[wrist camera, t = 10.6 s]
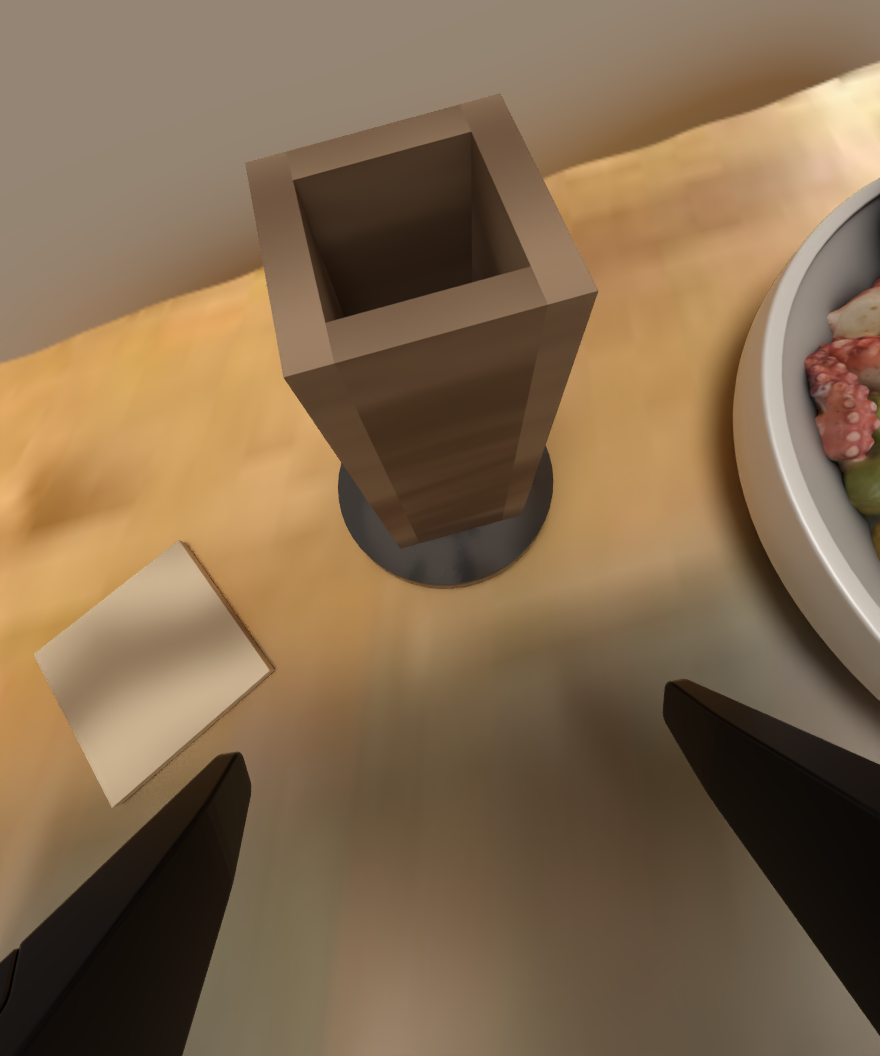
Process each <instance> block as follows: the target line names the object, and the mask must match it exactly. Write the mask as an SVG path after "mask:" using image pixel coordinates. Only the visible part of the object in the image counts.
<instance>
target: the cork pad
mask: <svg viewBox="0 0 880 1056" xmlns="http://www.w3.org/2000/svg"><path fill="white" fill-rule="evenodd" d="M33 655H34V657H35V659H36V661H37V662H38V664H39V666H40V668H41V670H42V672H43V674H44V676H45V678H46V680H47V682H48V684H49V686H50V688H51V690H52V692H53V694H54V696H55V698H56V699H57V701H58V703H59V705H60V707H61V709H62V711H63V713H64V715H65V717H66V719H67V721H68V723H69V725H70V727H71V729H72V731H73V733H74V735H75V736H76V738H77V740H78V742H79V744H80V746H81V748H82V750H83V752H84V754H85V756H86V758H87V760H88V762H89V764H90V766H91V768H92V770H93V771H94V773H95V775H96V777H97V779H98V781H99V783H100V785H101V787H102V789H103V791H104V793H105V795H106V797H107V799H108V801H109V803H110V805H111V807H112V808H113V807H115V806H118V805H120V804H122V803H123V802H125V801H126V800H127V799H128V798H129V797H130V796H131V795H133V794H134V793H135V792H136V791H137V790H138V789H139V788H141V787H142V786H143V785H144V784H145V783H146V782H147V781H149V780H150V779H151V778H152V777H153V776H154V775H155V774H157V773H158V772H159V771H160V770H161V769H162V768H164V767H165V766H166V765H167V764H168V763H169V762H170V761H172V760H173V759H174V758H175V757H176V756H177V755H178V754H180V753H181V752H182V751H183V750H184V749H185V748H186V747H188V746H189V745H190V744H191V743H192V742H193V741H194V740H196V739H197V738H198V737H199V736H200V735H201V734H203V733H204V732H205V731H206V730H207V729H208V728H209V727H211V726H212V725H213V724H214V723H215V722H216V721H217V720H219V719H220V718H221V717H222V716H223V715H224V714H225V713H227V712H228V711H229V710H230V709H231V708H232V707H234V706H235V705H236V704H237V703H238V702H239V701H240V700H242V699H243V698H244V697H245V696H246V695H247V694H248V693H250V692H251V691H252V690H253V689H254V688H255V687H256V686H258V685H259V684H260V683H261V682H262V681H263V680H264V679H266V678H267V677H268V676H269V675H270V674H271V673H273V672H274V671H275V670H274V668H273V667H272V665H271V664H270V662H269V661H268V660H267V658H266V657H265V655H264V654H263V652H262V651H261V650H260V648H259V647H258V645H257V644H256V642H255V641H254V640H253V638H252V637H251V635H250V634H249V633H248V631H247V630H246V628H245V627H244V625H243V624H242V623H241V621H240V620H239V618H238V617H237V615H236V614H235V613H234V611H233V610H232V608H231V607H230V605H229V604H228V603H227V601H226V600H225V598H224V597H223V595H222V594H221V593H220V591H219V590H218V588H217V587H216V586H215V584H214V583H213V581H212V580H211V578H210V577H209V576H208V574H207V573H206V571H205V570H204V568H203V567H202V566H201V564H200V563H199V561H198V560H197V558H196V557H195V556H194V554H193V553H192V551H191V550H190V549H189V547H188V546H187V544H186V543H185V542H182V541H180V540H178V541H177V542H176V543H175V544H173V545H172V546H171V547H169V548H168V549H167V550H166V551H164V552H163V553H162V554H161V555H159V556H158V557H157V558H155V559H154V560H153V561H152V562H150V563H149V564H148V565H147V566H145V567H144V568H143V569H141V570H140V571H139V572H138V573H136V574H135V575H134V576H133V577H131V578H130V579H129V580H127V581H126V582H125V583H124V584H122V585H121V586H120V587H119V588H117V589H116V590H115V591H113V592H112V593H111V594H110V595H108V596H107V597H106V598H105V599H103V600H102V601H101V602H99V603H98V604H97V605H96V606H94V607H93V608H92V609H91V610H89V611H88V612H87V613H85V614H84V615H83V616H82V617H80V618H79V619H78V620H77V621H75V622H74V623H73V624H71V625H70V626H69V627H68V628H66V629H65V630H64V631H63V632H61V633H60V634H59V635H57V636H56V637H55V638H54V639H52V640H51V641H50V642H49V643H47V644H46V645H45V646H43V647H42V648H41V649H40V650H38V651H37V652H36V653H35V654H33Z"/></svg>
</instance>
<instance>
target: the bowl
mask: <svg viewBox="0 0 880 1056" xmlns="http://www.w3.org/2000/svg"><path fill="white" fill-rule="evenodd" d="M733 436H734V446H735V455H736V462H737V467H738V473H739V478H740V482H741V486H742V490H743V493H744V497H745V501H746V504H747V507H748V509H749V512H750V515H751V518H752V521H753V523H754V526H755V528H756V531H757V533H758V536H759V538H760V540H761V543H762V545H763V547H764V549H765V551H766V553H767V555H768V557H769V559H770V561H771V563H772V565H773V567H774V568H775V570H776V572H777V574H778V575H779V577H780V579H781V581H782V583H783V584H784V586H785V587H786V589H787V590H788V592H789V594H790V595H791V597H792V598H793V600H794V601H795V603H796V605H797V606H798V607H799V609H800V610H801V612H802V613H803V614H804V616H805V617H806V619H807V620H808V621H809V623H810V624H811V625H812V627H813V628H814V630H815V631H816V632H817V633H818V634H819V636H820V637H821V638H822V639H823V641H824V642H825V643H826V644H827V646H828V647H829V648H830V649H831V651H832V652H833V653H834V654H835V655H836V656H837V657H838V658H839V660H840V661H841V662H842V663H843V664H844V665H845V666H846V667H847V668H848V670H849V671H850V672H851V673H852V674H853V675H854V676H855V677H856V678H857V679H858V680H859V681H860V682H861V683H862V684H863V685H864V686H865V687H866V688H867V689H868V690H869V691H870V692H871V693H872V694H873V695H874V696H875V697H876V698H877V699H878V700H879V701H880V178H879V179H877V180H875V181H874V182H872V183H870V184H869V185H867V186H865V187H864V188H862V189H861V190H859V191H858V192H856V193H855V194H854V195H852V196H851V197H849V198H848V199H847V200H846V201H844V202H843V203H842V204H841V205H839V206H838V207H837V208H836V209H835V210H833V211H832V212H831V213H830V214H829V215H828V216H827V217H826V218H825V219H824V220H823V221H822V222H821V223H820V224H819V225H818V226H817V227H816V228H815V229H814V231H813V232H812V233H811V234H810V235H809V236H808V237H807V239H806V240H805V241H804V242H803V244H802V245H801V246H800V247H799V249H798V250H797V251H796V252H795V254H794V255H793V256H792V258H791V259H790V260H789V262H788V263H787V264H786V266H785V267H784V268H783V270H782V271H781V272H780V274H779V275H778V277H777V278H776V280H775V282H774V283H773V285H772V286H771V288H770V290H769V291H768V293H767V295H766V296H765V298H764V300H763V302H762V304H761V306H760V308H759V310H758V312H757V314H756V316H755V318H754V321H753V323H752V326H751V328H750V331H749V333H748V336H747V339H746V342H745V345H744V348H743V352H742V355H741V358H740V363H739V367H738V372H737V377H736V385H735V393H734V403H733Z"/></svg>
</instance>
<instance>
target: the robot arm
mask: <svg viewBox="0 0 880 1056" xmlns="http://www.w3.org/2000/svg"><path fill="white" fill-rule="evenodd" d="M663 717H664V720H665V723H666V725H667V726H668V728H669V730H670V732H671V733H672V735H673V737H674V738H675V740H676V742H677V743H678V745H679V747H680V749H681V750H682V752H683V754H684V755H685V757H686V759H687V760H688V762H689V764H690V766H691V767H692V769H693V771H694V772H695V774H696V776H697V777H698V779H699V781H700V782H701V784H702V786H703V787H704V789H705V790H706V792H707V794H708V795H709V797H710V798H711V800H712V801H713V802H714V804H715V805H716V807H717V808H718V810H719V811H720V812H721V814H722V815H723V817H724V818H725V819H726V821H727V822H728V824H729V825H730V826H731V828H732V829H733V831H734V832H735V833H736V835H737V836H738V838H739V839H740V840H741V842H742V843H743V845H744V846H745V847H746V849H747V850H748V852H749V853H750V854H751V856H752V857H753V859H754V860H755V861H756V863H757V864H758V866H759V867H760V868H761V870H762V871H763V873H764V874H765V876H766V877H767V878H768V880H769V881H770V883H771V884H772V885H773V887H774V888H775V890H776V891H777V892H778V894H779V895H780V897H781V898H782V899H783V901H784V902H785V904H786V905H787V906H788V908H789V909H790V911H791V912H792V913H793V915H794V916H795V918H796V919H797V920H798V922H799V923H800V925H801V926H802V927H803V929H804V930H805V932H806V933H807V934H808V936H809V937H810V939H811V940H812V941H813V943H814V944H815V946H816V947H817V948H818V950H819V951H820V953H821V954H822V955H823V957H824V958H825V960H826V961H827V962H828V964H829V965H830V967H831V968H832V969H833V971H834V972H835V974H836V975H837V976H838V978H839V979H840V981H841V982H842V983H843V985H844V986H845V988H846V989H847V990H848V992H849V993H850V995H851V996H852V997H853V999H854V1000H855V1002H856V1003H857V1004H858V1006H859V1007H860V1009H861V1010H862V1012H863V1013H864V1014H865V1016H866V1017H867V1019H868V1020H869V1021H870V1023H871V1024H872V1026H873V1027H874V1028H875V1030H876V1031H877V1033H878V1034H879V1035H880V765H879V764H877V763H875V762H873V761H870V760H868V759H866V758H864V757H861V756H859V755H857V754H855V753H852V752H850V751H848V750H846V749H843V748H841V747H839V746H837V745H834V744H832V743H830V742H827V741H825V740H823V739H821V738H818V737H816V736H814V735H812V734H809V733H807V732H805V731H803V730H800V729H798V728H796V727H794V726H791V725H789V724H787V723H785V722H782V721H780V720H778V719H776V718H773V717H771V716H769V715H767V714H764V713H762V712H760V711H757V710H755V709H753V708H751V707H748V706H746V705H744V704H742V703H739V702H737V701H735V700H733V699H730V698H728V697H726V696H724V695H721V694H719V693H717V692H715V691H712V690H710V689H708V688H706V687H703V686H701V685H699V684H697V683H694V682H692V681H690V680H687V679H680V680H673V681H669V682H667V683H666V685H665V690H664V703H663ZM250 797H251V781H250V778H249V775H248V771H247V768H246V764H245V761H244V758H243V755H242V754H241V753H240V752H231V753H225V754H220V755H218V756H217V757H215V758H214V759H213V760H212V761H211V762H210V763H209V764H208V765H207V766H206V767H205V768H204V769H203V770H202V771H201V772H200V773H198V774H197V775H196V776H195V777H194V778H193V779H192V780H191V781H190V782H189V783H188V784H187V785H186V786H185V787H184V788H183V789H182V790H181V791H180V792H179V793H178V794H176V795H175V796H174V797H173V798H172V799H171V800H170V801H169V802H168V803H167V804H166V805H165V806H164V807H163V808H162V809H161V810H160V811H159V812H158V813H157V814H156V815H154V816H153V817H152V818H151V819H150V820H149V821H148V822H147V823H146V824H145V825H144V826H143V827H142V828H141V829H140V830H139V831H138V832H137V833H136V834H135V835H134V836H132V837H131V838H130V839H129V840H128V841H127V842H126V843H125V844H124V845H123V846H122V847H121V848H120V849H119V850H118V851H117V852H116V853H115V854H114V855H113V856H112V857H110V858H109V859H108V860H107V861H106V862H105V863H104V864H103V865H102V866H101V867H100V868H99V869H98V870H97V871H96V872H95V873H94V874H93V875H92V876H91V877H90V878H88V879H87V880H86V881H85V882H84V883H83V884H82V885H81V886H80V887H79V888H78V889H77V890H76V891H75V892H74V893H73V894H72V895H71V896H70V897H69V898H68V899H66V900H65V901H64V902H63V903H62V904H61V905H60V906H59V907H58V908H57V909H56V910H55V911H54V912H53V913H52V914H51V915H50V916H49V917H48V918H47V919H46V920H44V921H43V922H42V923H41V924H40V925H39V926H38V927H37V928H36V929H35V930H34V931H33V932H32V933H31V934H30V935H29V936H28V937H27V938H26V939H25V940H24V941H22V943H21V944H20V947H19V949H14V950H13V951H12V952H11V953H10V954H9V955H8V956H7V957H5V958H4V959H3V960H2V961H1V962H0V1056H182V1055H183V1051H184V1048H185V1045H186V1041H187V1038H188V1035H189V1031H190V1028H191V1024H192V1021H193V1018H194V1014H195V1011H196V1008H197V1004H198V1001H199V998H200V994H201V991H202V987H203V984H204V981H205V977H206V974H207V971H208V967H209V964H210V960H211V957H212V954H213V950H214V947H215V944H216V940H217V937H218V933H219V930H220V927H221V923H222V920H223V917H224V913H225V910H226V906H227V903H228V900H229V896H230V892H231V889H232V885H233V881H234V877H235V872H236V867H237V862H238V857H239V852H240V847H241V842H242V837H243V832H244V827H245V822H246V817H247V812H248V807H249V802H250Z"/></svg>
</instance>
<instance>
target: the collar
mask: <svg viewBox="0 0 880 1056" xmlns="http://www.w3.org/2000/svg"><path fill="white" fill-rule="evenodd" d="M245 164H246V170H247V175H248V180H249V186H250V192H251V198H252V203H253V209H254V214H255V220H256V226H257V231H258V237H259V242H260V248H261V253H262V259H263V264H264V271H265V276H266V282H267V287H268V293H269V299H270V304H271V310H272V315H273V321H274V327H275V332H276V338H277V343H278V349H279V355H280V360H281V366H282V372H283V377H284V379H285V380H286V382H287V383H288V385H289V386H290V388H291V389H292V391H293V392H294V393H295V395H296V396H297V398H298V399H299V401H300V402H301V404H302V405H303V407H304V408H305V410H306V411H307V413H308V414H309V416H310V417H311V418H312V420H313V421H314V423H315V424H316V426H317V427H318V429H319V430H320V432H321V433H322V435H323V436H324V438H325V439H326V441H327V442H328V443H329V445H330V446H331V448H332V449H333V451H334V452H335V454H336V455H337V457H338V458H339V460H340V461H341V463H342V464H343V466H344V467H345V468H346V470H347V471H348V473H349V474H350V476H351V477H352V479H353V480H354V482H355V483H356V485H357V486H358V488H359V489H360V490H361V492H362V493H363V495H364V496H365V498H366V499H367V501H368V502H369V504H370V505H371V507H372V508H373V510H374V511H375V513H376V514H377V515H378V517H379V518H380V520H381V521H382V523H383V524H384V526H385V527H386V529H387V530H388V532H389V533H390V535H391V536H392V538H393V539H394V540H395V542H396V543H397V545H398V546H399V548H400V549H402V548H405V547H409V546H412V545H416V544H420V543H423V542H427V541H430V540H434V539H438V538H441V537H445V536H448V535H452V534H456V533H459V532H463V531H466V530H470V529H474V528H477V527H481V526H484V525H488V524H491V523H495V522H499V521H502V520H506V519H509V518H513V517H517V516H520V515H522V512H523V509H524V506H525V503H526V500H527V497H528V494H529V492H530V489H531V486H532V483H533V480H534V477H535V474H536V471H537V468H538V465H539V462H540V459H541V457H542V454H543V451H544V448H545V445H546V442H547V439H548V436H549V433H550V430H551V427H552V424H553V422H554V419H555V416H556V413H557V410H558V407H559V404H560V401H561V398H562V395H563V392H564V389H565V387H566V384H567V381H568V378H569V375H570V372H571V369H572V366H573V363H574V360H575V357H576V354H577V352H578V349H579V346H580V343H581V340H582V337H583V334H584V331H585V328H586V325H587V322H588V320H589V317H590V314H591V311H592V308H593V305H594V302H595V299H596V296H597V293H598V289H597V287H596V285H595V283H594V281H593V279H592V277H591V275H590V273H589V271H588V269H587V267H586V265H585V263H584V261H583V259H582V257H581V255H580V253H579V251H578V249H577V247H576V245H575V243H574V241H573V239H572V237H571V235H570V233H569V231H568V229H567V227H566V225H565V223H564V221H563V219H562V217H561V215H560V213H559V211H558V208H557V206H556V204H555V202H554V200H553V198H552V196H551V194H550V192H549V190H548V188H547V186H546V184H545V182H544V180H543V178H542V176H541V174H540V172H539V170H538V168H537V166H536V164H535V162H534V161H533V158H532V156H531V154H530V152H529V150H528V148H527V146H526V144H525V142H524V140H523V138H522V136H521V134H520V132H519V130H518V128H517V126H516V124H515V122H514V120H513V118H512V116H511V114H510V112H509V110H508V108H507V106H506V104H505V102H504V100H503V98H502V96H501V94H497V95H493V96H490V97H486V98H482V99H479V100H475V101H471V102H468V103H464V104H460V105H457V106H453V107H449V108H445V109H442V110H438V111H434V112H431V113H427V114H424V115H420V116H416V117H413V118H409V119H405V120H402V121H398V122H394V123H391V124H387V125H383V126H380V127H376V128H372V129H368V130H365V131H361V132H357V133H354V134H350V135H346V136H343V137H339V138H335V139H332V140H328V141H324V142H321V143H317V144H313V145H310V146H306V147H302V148H299V149H295V150H291V151H288V152H284V153H280V154H276V155H273V156H269V157H266V158H262V159H258V160H255V161H251V162H247V163H245Z"/></svg>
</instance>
